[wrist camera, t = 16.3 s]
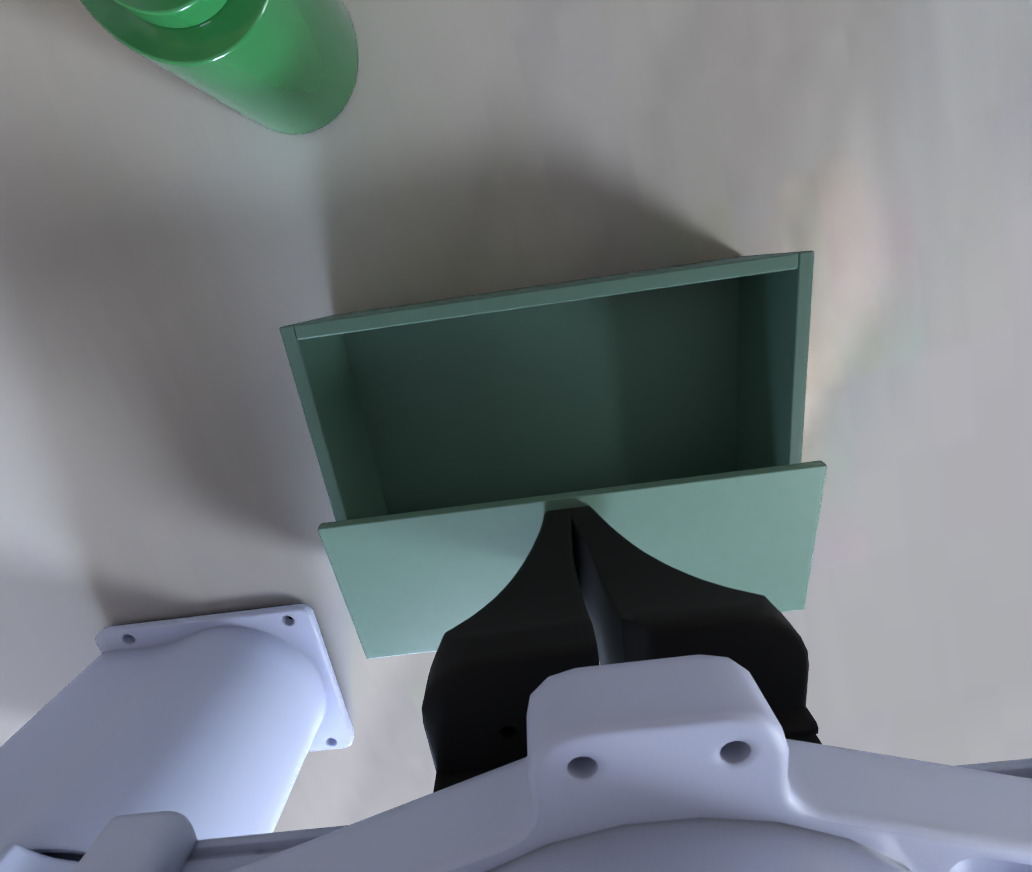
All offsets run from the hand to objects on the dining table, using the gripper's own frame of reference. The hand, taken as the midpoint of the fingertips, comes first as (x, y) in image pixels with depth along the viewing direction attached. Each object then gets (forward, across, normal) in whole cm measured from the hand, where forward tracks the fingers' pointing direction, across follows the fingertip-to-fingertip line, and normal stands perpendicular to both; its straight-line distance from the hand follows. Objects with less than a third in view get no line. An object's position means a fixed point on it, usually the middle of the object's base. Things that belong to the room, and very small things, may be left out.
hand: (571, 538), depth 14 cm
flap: (+1, 0, +1) cm, 1 cm away
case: (+5, 0, -2) cm, 5 cm away
